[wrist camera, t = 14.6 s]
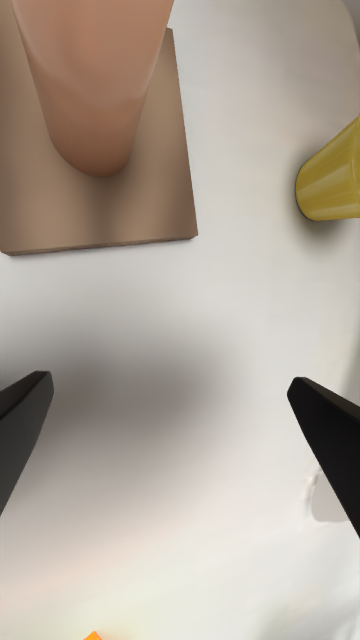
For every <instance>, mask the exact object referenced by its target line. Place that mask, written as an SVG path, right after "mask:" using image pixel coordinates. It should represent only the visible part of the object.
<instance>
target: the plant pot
mask: <svg viewBox="0 0 360 640" xmlns="http://www.w3.org/2000/svg"><path fill="white" fill-rule="evenodd" d="M295 189H296V199H297V203H298V205H299V208H300V210H301V211H302V213H303V214H304V215H305V216H306V217H307V218H309V219H311V220H315V221H320V220H333V219H348V218H360V114H359V116H358V117H357V118H356V119H355V120H354V121H352V122H351V123H350V124H349V125H348V126H347V127H346V128H345V129H343V130H342V131H341V132H340V133H339V134H338V135H337V136H335V137H334V138H333V139H332V140H331V141H330V142H329V143H328V144H326V145H325V146H324V147H323V148H322V149H321V150H320V151H318V152H317V153H316V154H315V155H314V156H313V157H312V158H310V159H309V160H308V161H307V162H306V163H305V164H304V165H303V166H302V168H301V169H300V171H299V174H298V177H297V180H296V188H295Z"/></svg>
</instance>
